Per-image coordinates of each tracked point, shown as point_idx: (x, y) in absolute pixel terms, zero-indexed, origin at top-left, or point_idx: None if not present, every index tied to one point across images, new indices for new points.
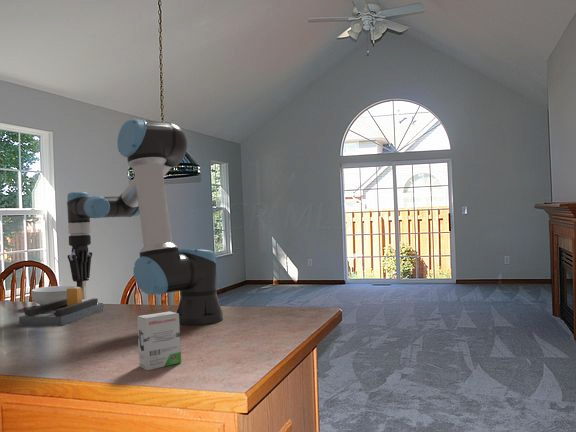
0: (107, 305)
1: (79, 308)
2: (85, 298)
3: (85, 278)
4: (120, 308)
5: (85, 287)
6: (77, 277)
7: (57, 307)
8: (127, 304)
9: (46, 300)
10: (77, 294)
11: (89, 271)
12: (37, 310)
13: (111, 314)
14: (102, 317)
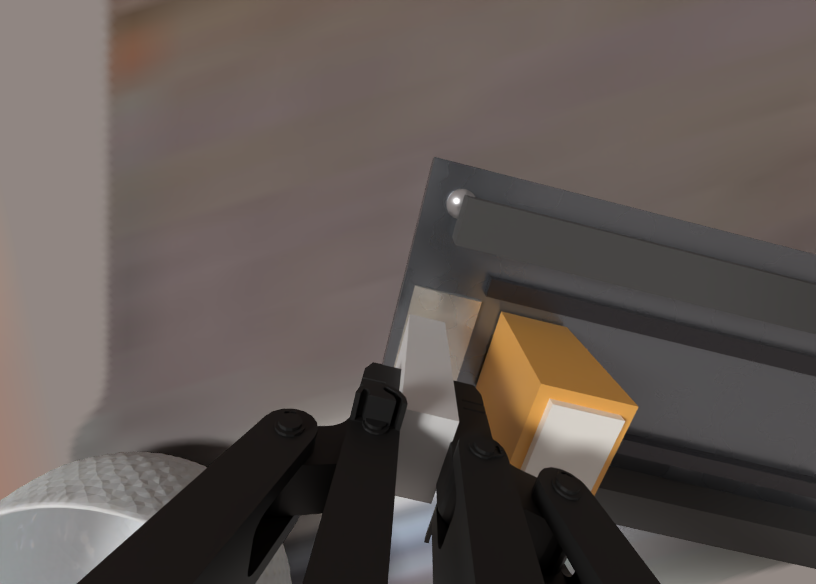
0: (184, 192)
1: (748, 266)
2: (423, 319)
3: (389, 436)
4: (342, 27)
5: (416, 365)
6: (602, 528)
7: (633, 440)
8: (144, 13)
9: (291, 582)
10: (602, 370)
11: (213, 484)
12: (781, 517)
13: (619, 32)
14: (732, 77)
